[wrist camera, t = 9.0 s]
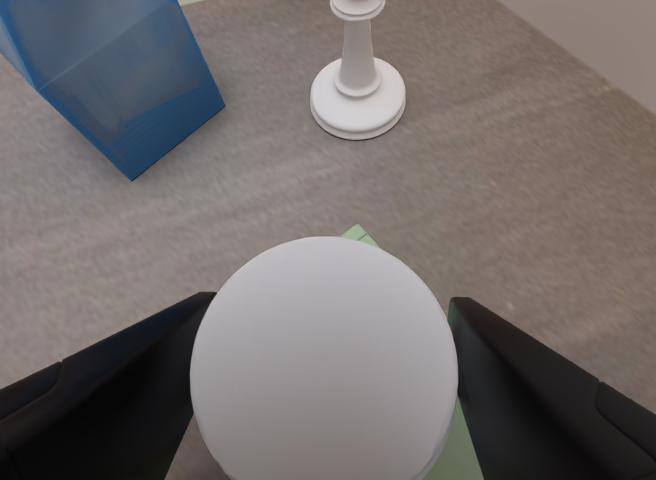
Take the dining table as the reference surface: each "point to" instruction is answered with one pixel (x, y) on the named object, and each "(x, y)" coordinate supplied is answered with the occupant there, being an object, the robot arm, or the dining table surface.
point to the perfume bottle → (114, 71)
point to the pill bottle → (324, 367)
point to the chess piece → (357, 80)
